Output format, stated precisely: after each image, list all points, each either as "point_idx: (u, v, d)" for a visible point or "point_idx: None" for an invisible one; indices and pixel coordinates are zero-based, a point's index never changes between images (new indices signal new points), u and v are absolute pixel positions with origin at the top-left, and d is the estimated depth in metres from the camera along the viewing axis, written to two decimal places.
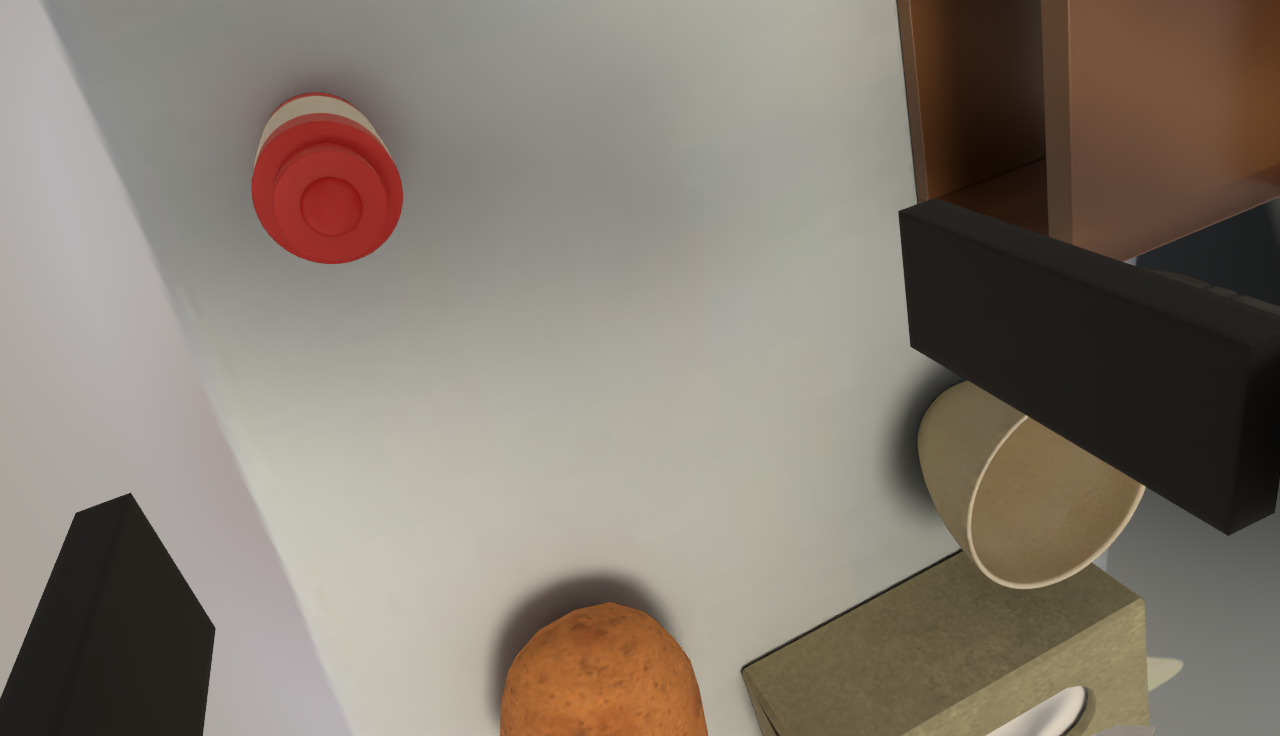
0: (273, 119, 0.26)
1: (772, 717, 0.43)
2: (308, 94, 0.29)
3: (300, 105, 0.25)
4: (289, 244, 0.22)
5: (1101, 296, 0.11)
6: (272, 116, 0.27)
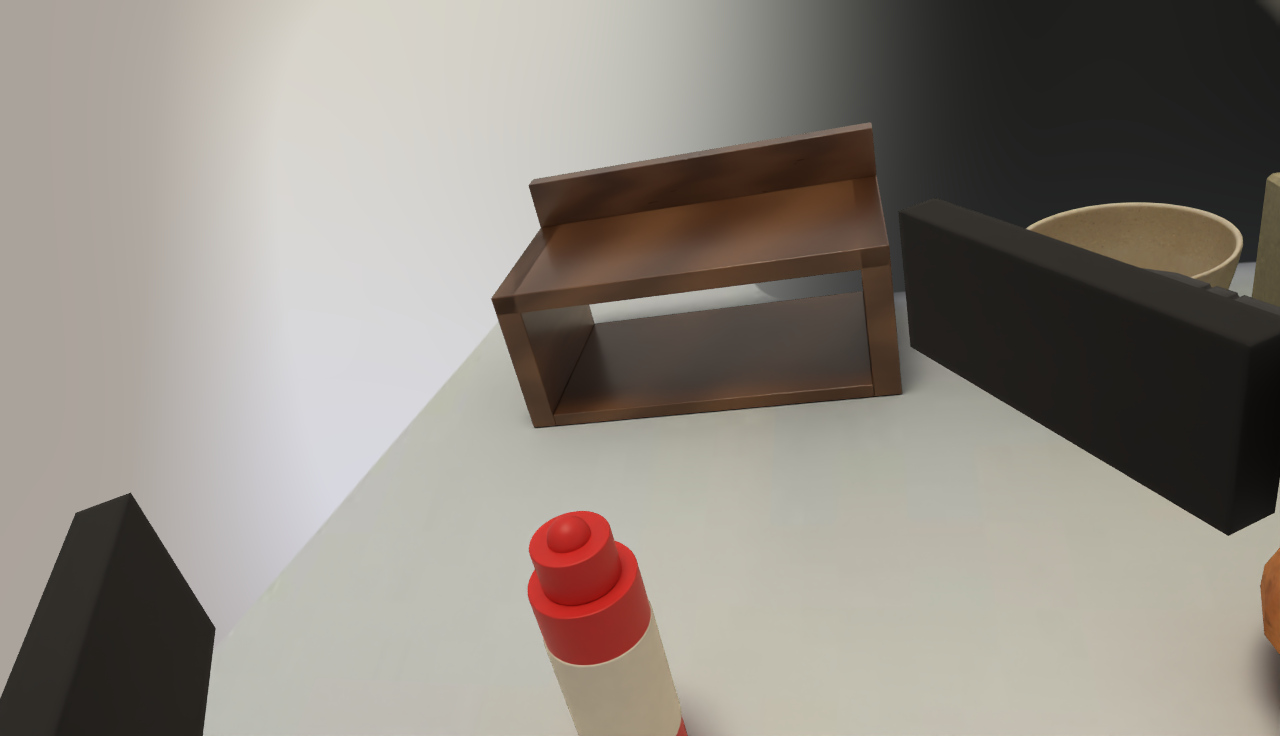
0: None
1: None
2: None
3: None
4: (599, 607, 0.26)
5: (1101, 296, 0.11)
6: (578, 733, 0.31)
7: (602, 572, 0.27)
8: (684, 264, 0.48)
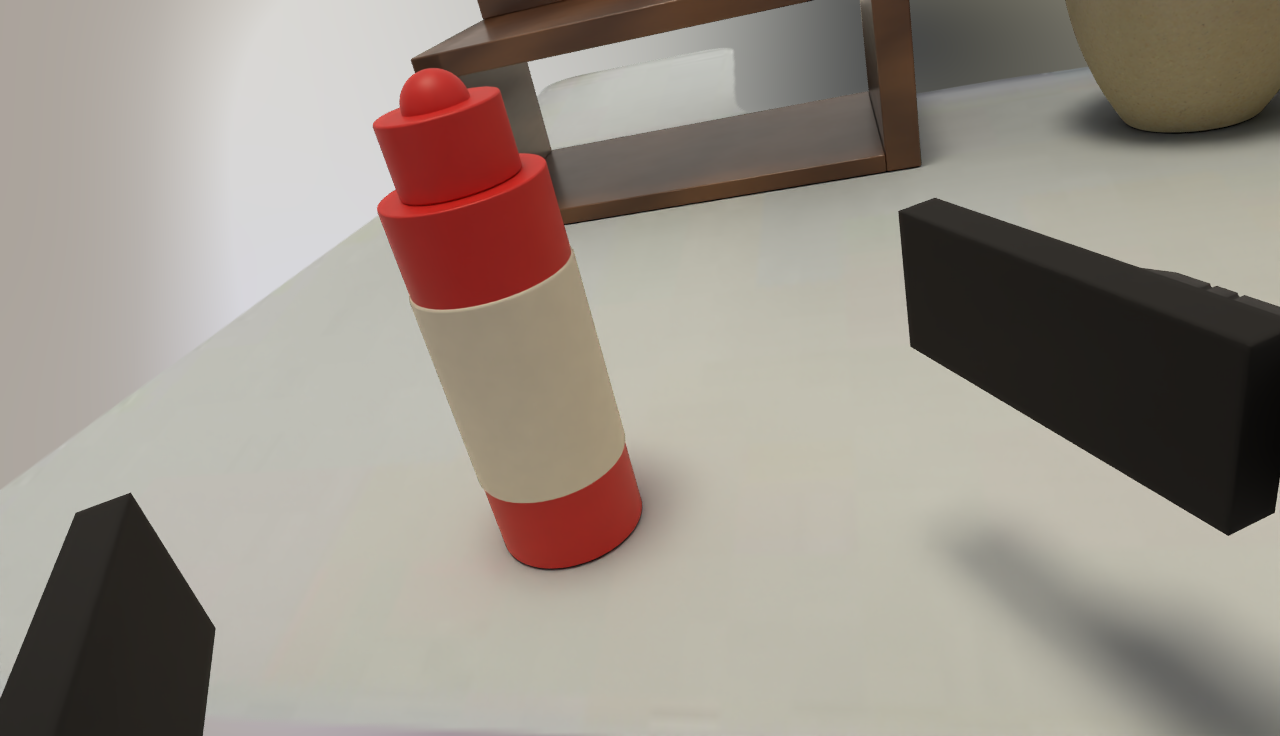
0: (452, 411, 0.20)
1: None
2: None
3: None
4: (479, 198, 0.17)
5: (1101, 296, 0.11)
6: None
7: (485, 146, 0.17)
8: (648, 2, 0.39)
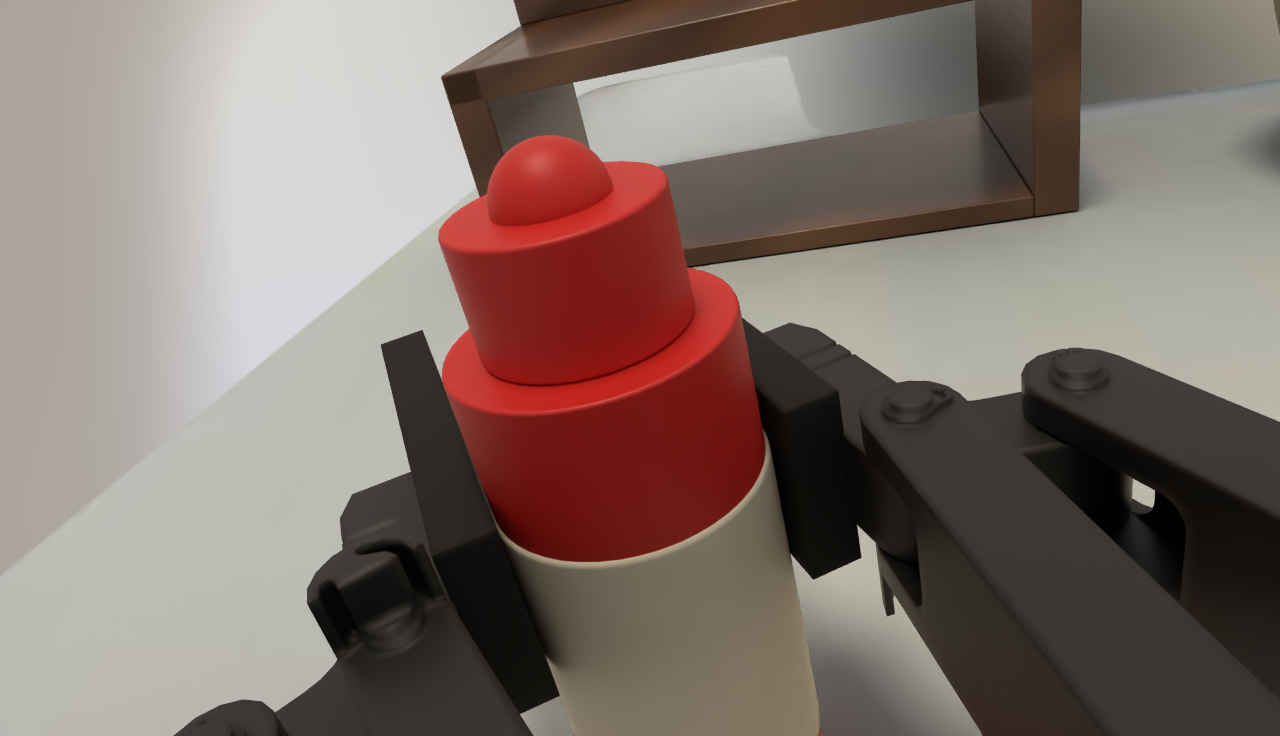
0: None
1: None
2: None
3: None
4: (639, 380, 0.09)
5: None
6: None
7: (648, 282, 0.09)
8: (740, 6, 0.31)
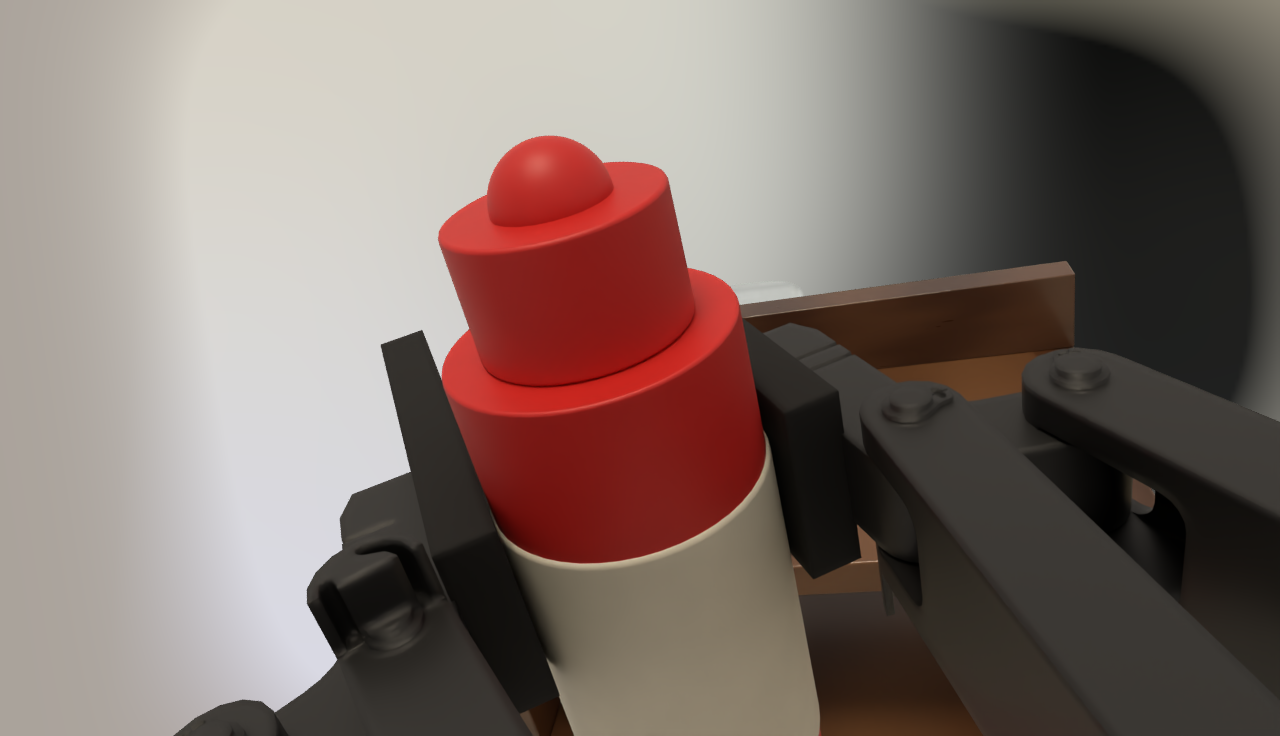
0: None
1: None
2: None
3: None
4: (639, 382, 0.09)
5: None
6: None
7: (648, 283, 0.09)
8: None
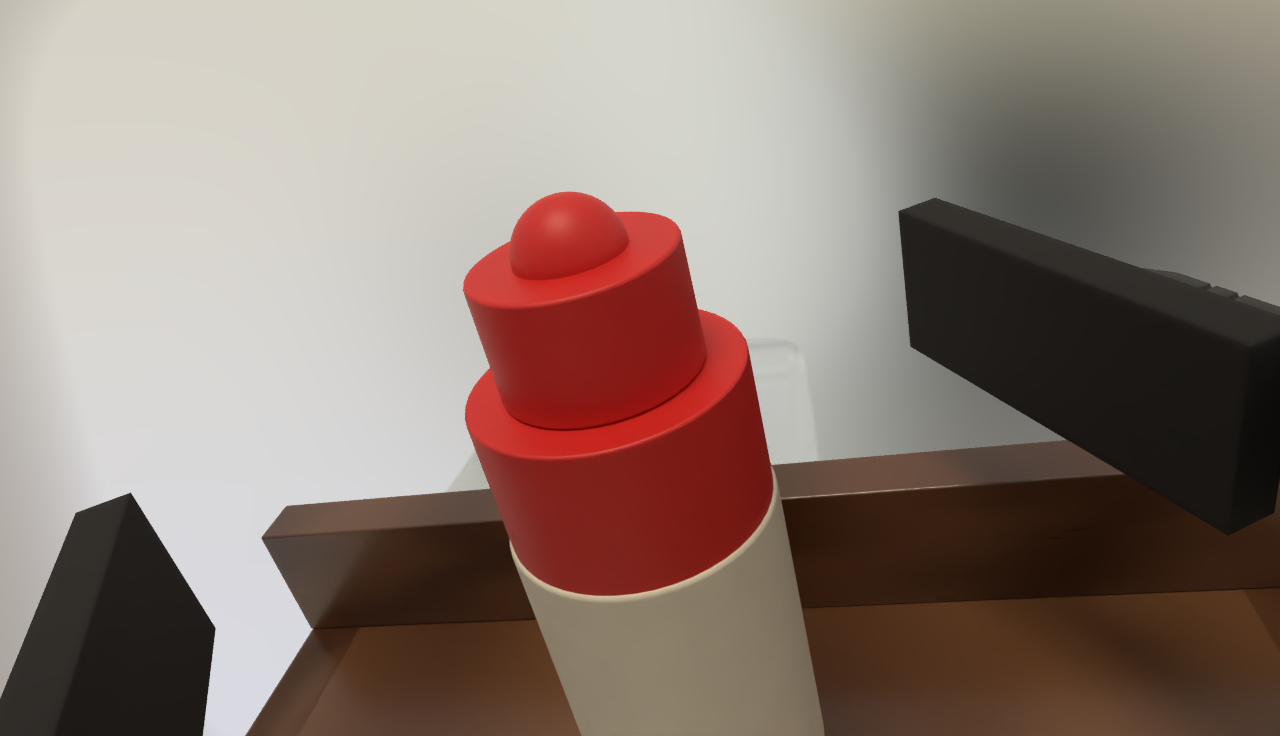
0: (567, 698, 0.13)
1: None
2: None
3: None
4: (654, 427, 0.10)
5: (1101, 296, 0.11)
6: None
7: (662, 333, 0.10)
8: None
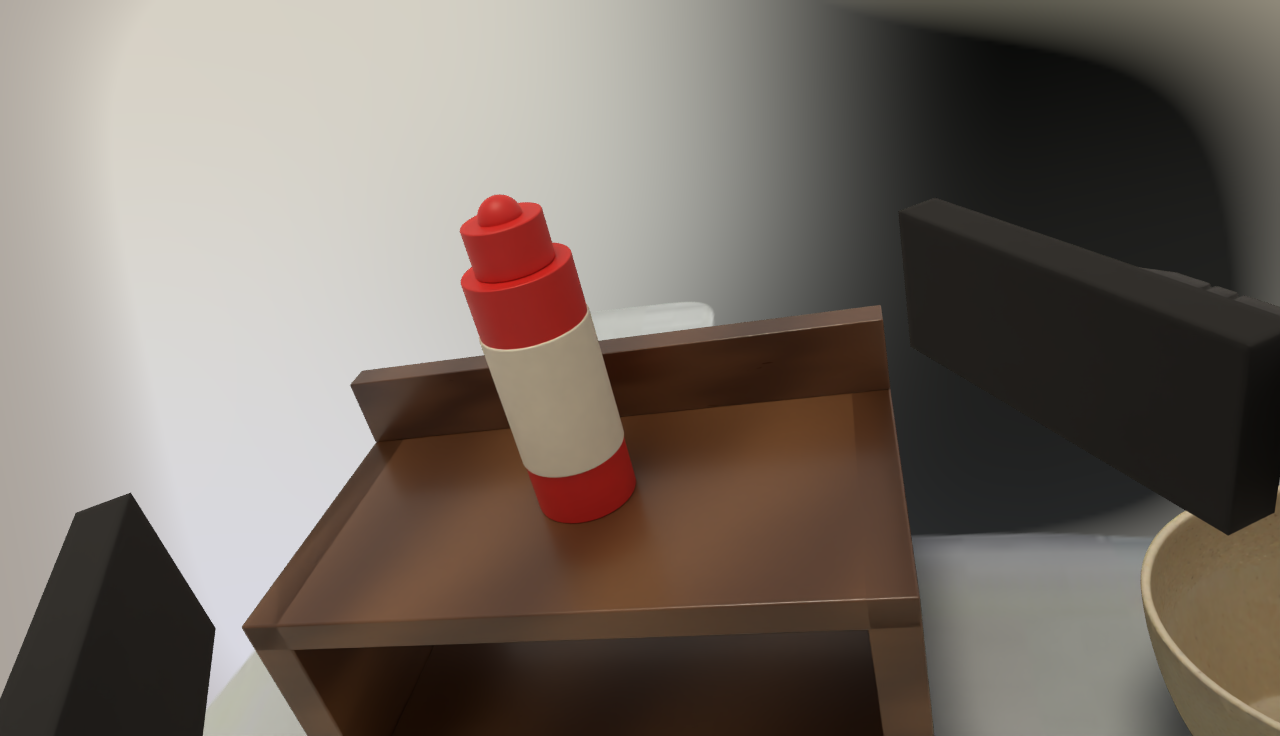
0: None
1: None
2: None
3: None
4: (529, 280, 0.26)
5: (1101, 296, 0.11)
6: (519, 452, 0.30)
7: (532, 246, 0.26)
8: (560, 586, 0.28)
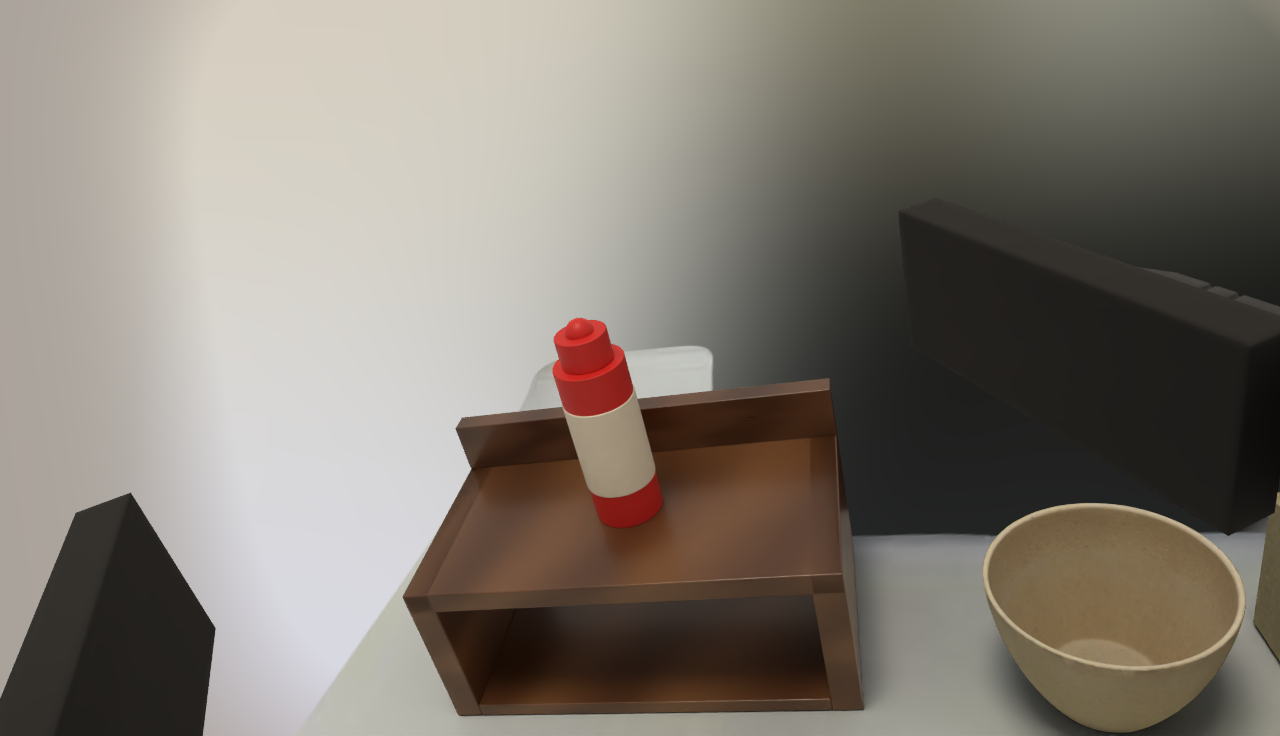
0: (578, 456, 0.45)
1: None
2: None
3: None
4: (599, 373, 0.41)
5: (1101, 296, 0.11)
6: None
7: (601, 352, 0.41)
8: (616, 569, 0.43)
